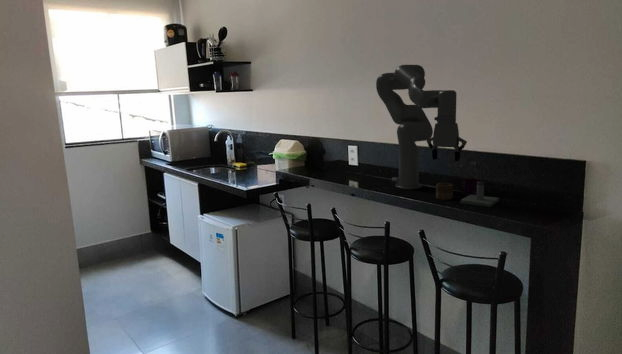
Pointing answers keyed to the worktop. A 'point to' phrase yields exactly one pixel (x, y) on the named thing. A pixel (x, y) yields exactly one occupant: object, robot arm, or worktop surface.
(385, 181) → the worktop surface
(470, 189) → the mug
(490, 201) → the post block
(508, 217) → the worktop surface
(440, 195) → the collar
